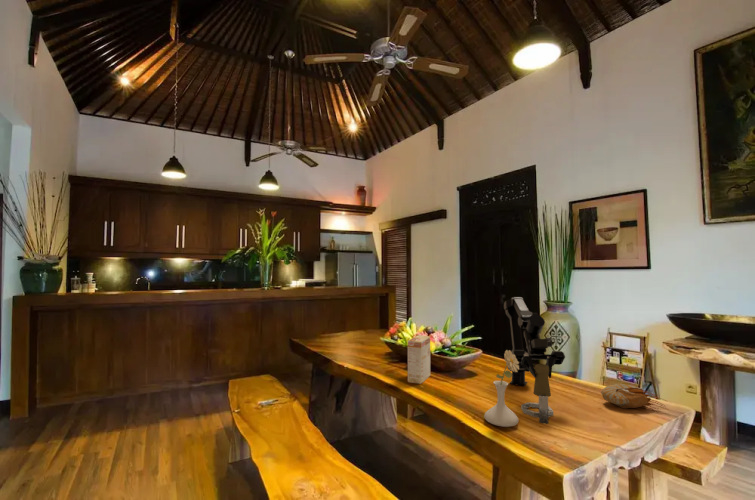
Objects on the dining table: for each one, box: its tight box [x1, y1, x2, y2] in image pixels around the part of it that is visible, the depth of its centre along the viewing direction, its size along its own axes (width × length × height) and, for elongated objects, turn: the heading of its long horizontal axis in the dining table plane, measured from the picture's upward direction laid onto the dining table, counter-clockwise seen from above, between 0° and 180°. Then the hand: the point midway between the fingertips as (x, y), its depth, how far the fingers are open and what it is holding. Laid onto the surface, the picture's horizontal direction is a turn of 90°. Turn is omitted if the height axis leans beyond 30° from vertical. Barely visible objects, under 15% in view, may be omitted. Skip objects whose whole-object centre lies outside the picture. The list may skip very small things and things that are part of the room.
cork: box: [532, 363, 552, 398], centre depth 137 cm, size 6×6×11 cm
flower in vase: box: [483, 349, 520, 428], centre depth 127 cm, size 13×11×25 cm
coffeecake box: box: [407, 334, 431, 385], centre depth 176 cm, size 15×7×20 cm, turn 154°
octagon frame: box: [520, 395, 554, 425], centre depth 134 cm, size 16×10×9 cm, turn 170°
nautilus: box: [600, 383, 669, 413], centre depth 141 cm, size 8×22×15 cm
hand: (542, 377), depth 135 cm, fingers closed on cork, 5 cm apart
